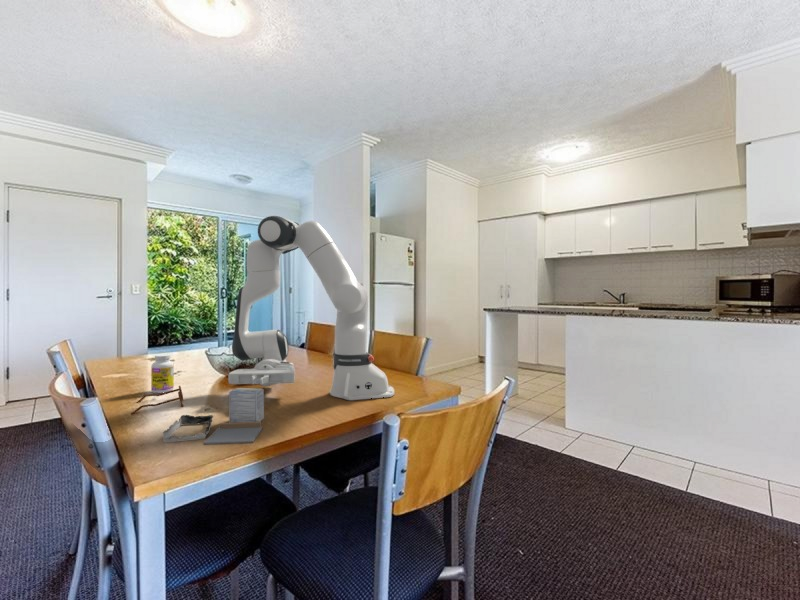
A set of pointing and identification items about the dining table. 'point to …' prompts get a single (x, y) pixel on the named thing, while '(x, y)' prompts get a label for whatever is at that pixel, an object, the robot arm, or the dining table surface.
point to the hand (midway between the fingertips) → (257, 382)
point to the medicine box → (246, 405)
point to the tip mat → (235, 433)
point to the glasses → (164, 401)
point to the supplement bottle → (162, 374)
